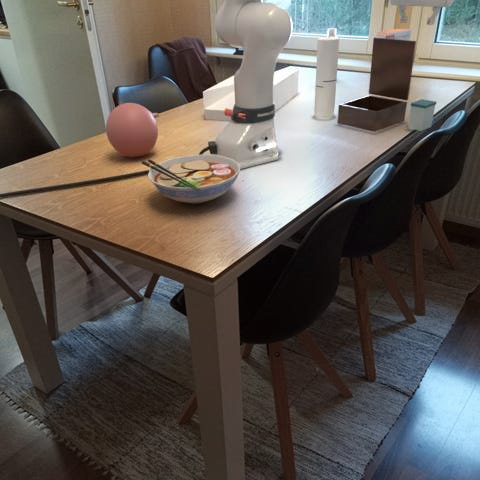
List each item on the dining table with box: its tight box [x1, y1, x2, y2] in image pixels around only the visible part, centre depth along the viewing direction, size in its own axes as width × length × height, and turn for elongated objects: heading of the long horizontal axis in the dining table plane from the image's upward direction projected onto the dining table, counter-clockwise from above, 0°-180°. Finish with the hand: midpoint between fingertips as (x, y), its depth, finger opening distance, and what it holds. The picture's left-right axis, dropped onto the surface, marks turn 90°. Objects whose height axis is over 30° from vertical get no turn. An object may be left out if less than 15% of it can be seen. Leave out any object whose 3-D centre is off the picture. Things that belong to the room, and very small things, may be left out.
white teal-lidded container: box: [407, 98, 437, 132], centre depth 157 cm, size 6×5×8 cm
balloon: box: [105, 102, 160, 158], centre depth 149 cm, size 15×20×15 cm
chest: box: [337, 94, 408, 133], centre depth 165 cm, size 17×16×7 cm
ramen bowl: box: [141, 153, 241, 205], centre depth 121 cm, size 25×23×8 cm
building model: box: [202, 69, 299, 122], centre depth 192 cm, size 45×22×10 cm, turn 157°
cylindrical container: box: [313, 36, 340, 119], centre depth 169 cm, size 7×7×25 cm
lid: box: [368, 37, 417, 102], centre depth 163 cm, size 17×16×5 cm
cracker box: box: [375, 27, 412, 41], centre depth 204 cm, size 14×6×21 cm, turn 121°
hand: (416, 23), depth 150 cm, fingers open, 8 cm apart
